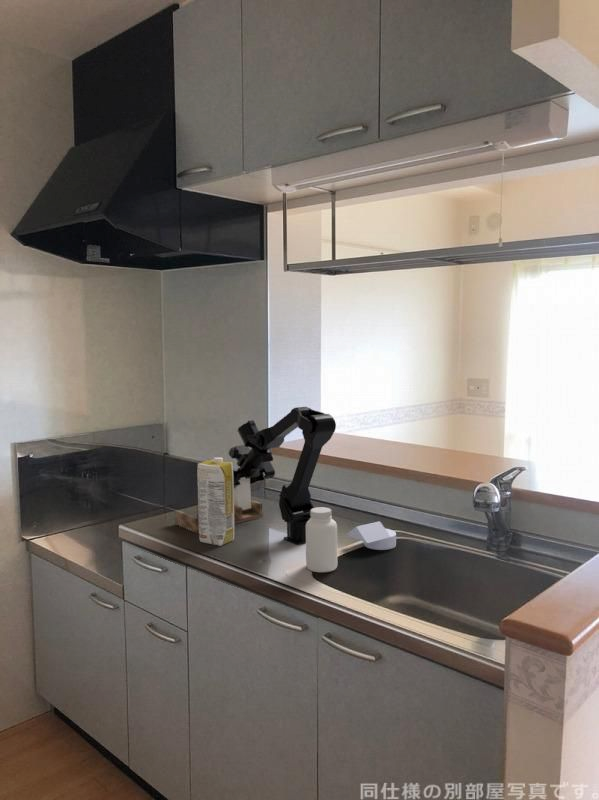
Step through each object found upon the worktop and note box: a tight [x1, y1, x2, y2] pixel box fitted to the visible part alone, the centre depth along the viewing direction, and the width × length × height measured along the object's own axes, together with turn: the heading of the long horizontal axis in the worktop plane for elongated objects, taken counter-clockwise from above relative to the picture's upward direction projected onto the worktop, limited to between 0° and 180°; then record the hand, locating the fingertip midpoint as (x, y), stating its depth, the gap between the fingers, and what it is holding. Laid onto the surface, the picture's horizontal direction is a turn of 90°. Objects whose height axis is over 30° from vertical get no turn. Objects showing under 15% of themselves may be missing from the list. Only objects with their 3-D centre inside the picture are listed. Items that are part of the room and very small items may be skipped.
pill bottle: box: [305, 506, 338, 573], centre depth 163 cm, size 8×8×15 cm
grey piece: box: [233, 466, 252, 510], centre depth 208 cm, size 5×5×13 cm
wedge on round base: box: [345, 521, 397, 551], centre depth 179 cm, size 9×7×13 cm
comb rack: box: [174, 499, 264, 534], centre depth 204 cm, size 12×25×4 cm, turn 132°
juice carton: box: [196, 457, 235, 547], centre depth 183 cm, size 9×8×24 cm
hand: (237, 487), depth 209 cm, fingers closed on grey piece, 5 cm apart
